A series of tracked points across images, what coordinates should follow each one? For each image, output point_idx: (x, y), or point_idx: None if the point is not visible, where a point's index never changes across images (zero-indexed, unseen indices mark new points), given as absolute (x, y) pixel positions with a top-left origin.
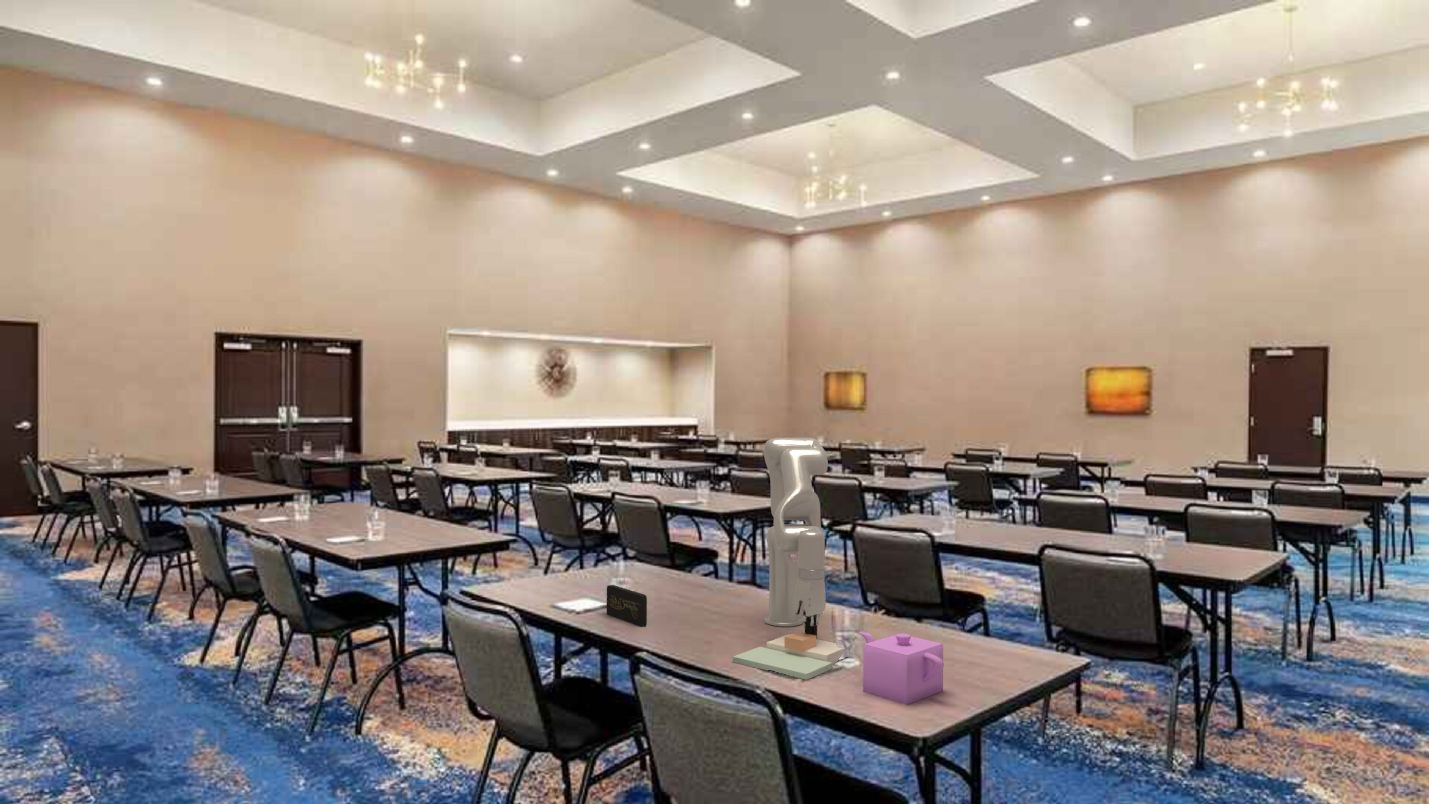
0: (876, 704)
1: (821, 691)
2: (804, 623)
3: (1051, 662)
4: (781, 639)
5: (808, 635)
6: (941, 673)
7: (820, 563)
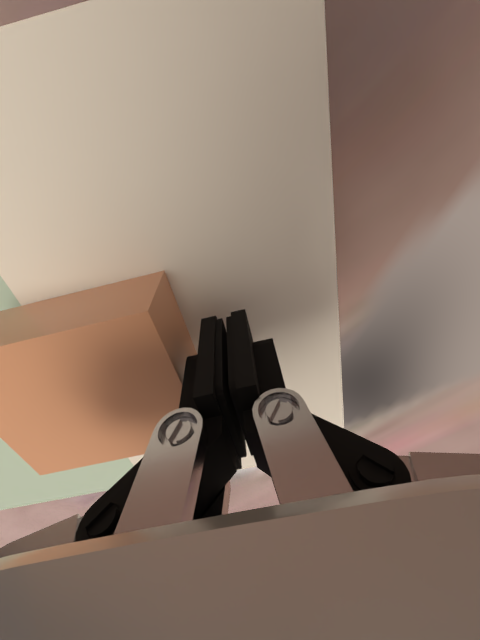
0: None
1: (4, 545)
2: (157, 440)
3: None
4: (80, 89)
5: (156, 420)
6: None
7: None
